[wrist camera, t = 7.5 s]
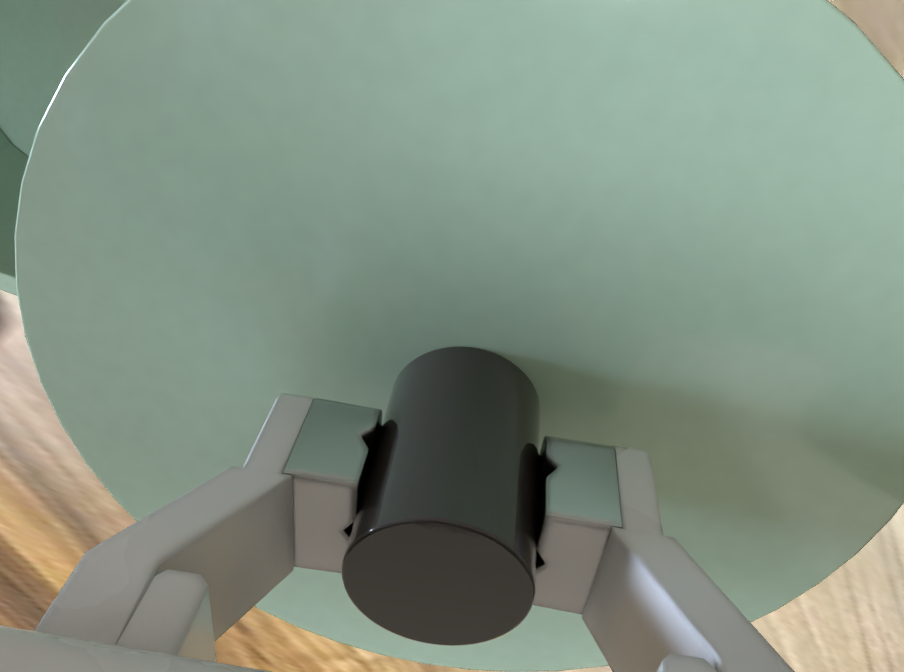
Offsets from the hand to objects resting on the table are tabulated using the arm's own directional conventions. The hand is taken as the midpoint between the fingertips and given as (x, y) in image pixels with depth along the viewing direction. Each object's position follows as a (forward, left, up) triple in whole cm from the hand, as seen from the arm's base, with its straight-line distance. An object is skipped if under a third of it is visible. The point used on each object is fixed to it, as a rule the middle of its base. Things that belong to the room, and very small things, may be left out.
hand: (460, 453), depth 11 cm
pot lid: (0, 0, -2) cm, 2 cm away
